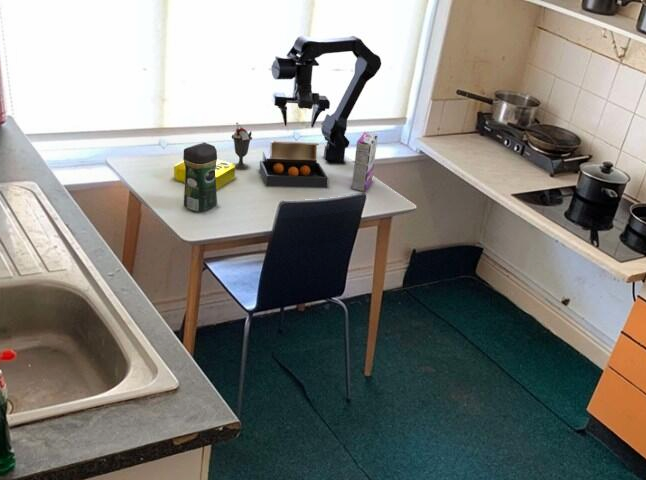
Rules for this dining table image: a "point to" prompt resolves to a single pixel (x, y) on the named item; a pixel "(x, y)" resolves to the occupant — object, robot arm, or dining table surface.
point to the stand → (267, 158)
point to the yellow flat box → (223, 172)
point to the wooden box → (293, 150)
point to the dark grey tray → (284, 180)
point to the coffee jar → (200, 177)
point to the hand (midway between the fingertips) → (298, 126)
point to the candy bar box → (364, 161)
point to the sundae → (241, 146)
